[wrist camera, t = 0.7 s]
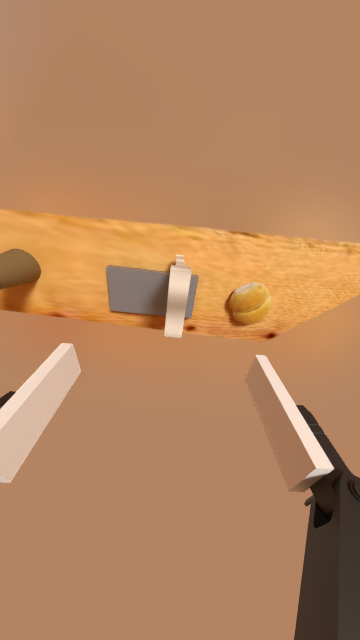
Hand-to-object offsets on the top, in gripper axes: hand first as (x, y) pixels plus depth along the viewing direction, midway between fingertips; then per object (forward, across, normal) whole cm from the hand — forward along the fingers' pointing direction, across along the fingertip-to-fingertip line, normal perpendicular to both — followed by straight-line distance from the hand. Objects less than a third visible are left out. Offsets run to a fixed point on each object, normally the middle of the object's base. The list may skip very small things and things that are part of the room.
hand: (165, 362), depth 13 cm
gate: (+22, 0, -2) cm, 22 cm away
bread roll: (+25, +16, -5) cm, 30 cm away
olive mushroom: (+24, -28, -1) cm, 37 cm away
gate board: (+24, -4, -4) cm, 25 cm away
